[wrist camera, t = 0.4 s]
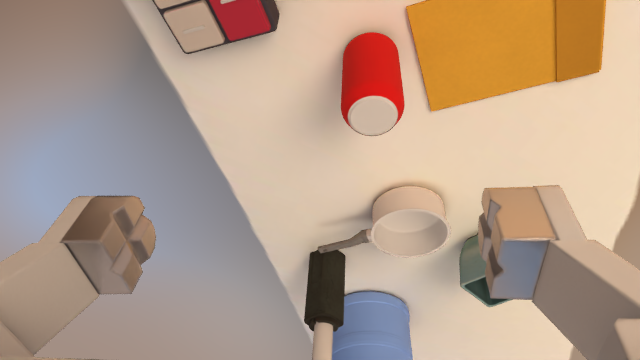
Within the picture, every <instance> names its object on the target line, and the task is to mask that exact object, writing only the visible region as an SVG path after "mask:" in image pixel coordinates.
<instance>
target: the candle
mask: <svg viewBox="0 0 640 360" xmlns="http://www.w3.org/2000/svg"><path fill="white" fill-rule="evenodd" d="M344 287H345V255H344V254H342V253H341V252H339V251H338V250H334V251H329V252H325V253H320V252H319V250H317V251H315V252H312V253H311V254H310V261H309V273H308V284H307V295H306V307H305V318H304V322H305V323H306V324H307V325H309V328H310V329H311V330H312V331H314V338H313V353H312V360H332V341H333V331H334V332H336V331H337V330H338V328H339V327H341V326H343V324H344Z"/></svg>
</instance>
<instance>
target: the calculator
mask: <svg viewBox="0 0 640 360" xmlns="http://www.w3.org/2000/svg"><path fill="white" fill-rule="evenodd" d="M153 2H154V4H155V5H156V7H157V9H158V10H159V12H160V14H161V15H162V17H163V19H164V20H165V22H166V24H167V25H168V27H169V29H170V30H171V32H172V34H173V35H174V37H175V39H176V40H177V42H178V44H179V45H180V47H181V49H182V50H183V52H184V53H186V54H190V53H194V52H198V51H202V50H206V49H209V48H213V47H217V46H221V45H225V44H228V43H232V42H236V41H240V40H243V39H247V38H251V37H255V36H259V35H262V34H266V33H270V32H273V31H275V30H276V29H277V25H278V20H279V12H278V9H277V7H276V4H275V2H274V0H153Z"/></svg>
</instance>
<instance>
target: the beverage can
mask: <svg viewBox="0 0 640 360" xmlns="http://www.w3.org/2000/svg"><path fill="white" fill-rule="evenodd" d="M403 111H404V96H403V88H402V79H401V71H400V63H399V55H398V50H397V47H396V45H395V43H394V42H393V41H392V40H391V39H390V38H389V37H387V36H385V35H383V34H380V33H374V32H370V33H364V34H361V35H359V36H357V37H355V38H354V39H353V40H351V42H350V43H349V44H348V45H347V47H346V49H345V51H344V54H343V70H342V93H341V112H342V115H343V118H344V120H345V121H346V123H347V124H348V125H349V126H350V127H351V128H352V129H354V130H355V131H356V132H358V133H360V134H362V135H366V136H377V135H381V134H384V133H386V132H388V131H389V130H391V129H392V128H393V127H394V126H395V125H396V124H397V122H398V121H399V120H400V118H401V116H402V114H403Z"/></svg>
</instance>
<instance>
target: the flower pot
mask: <svg viewBox="0 0 640 360" xmlns="http://www.w3.org/2000/svg"><path fill="white" fill-rule="evenodd" d="M486 263H487V262H486V261H485V260H483V259H482V258H481V254H480V249H479V242H478V235H477V236H474V237H472V238H470V239H468V240H467V241H466V243H465V244H464V246H463V248H462V251H461V254H460V260H459V265H460V286H461V287H462V288H463V289H464V290H466V291H467V292H469V293H470V294H471V295H473V296H474V297H475V298H477V299H478V300H480V301H481V302H482V303H483V304H485V305H486V306H488V307H493V306H496V305H499V304H502V303H504V302H507V301H510V300H513V299H497V298H490V293H489V289H488V285H487V281H486V276H485V269H486Z"/></svg>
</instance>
